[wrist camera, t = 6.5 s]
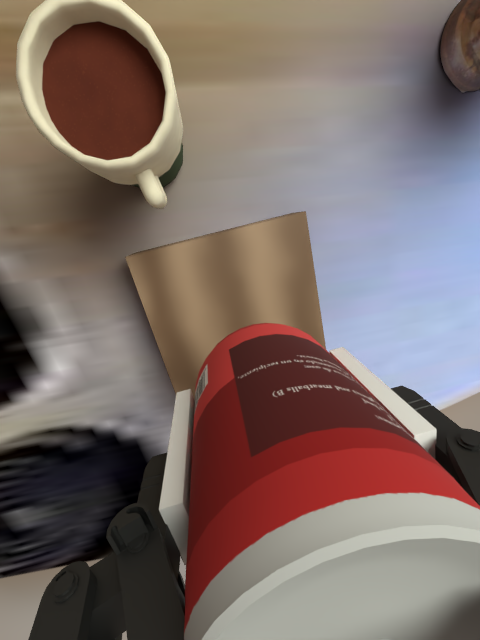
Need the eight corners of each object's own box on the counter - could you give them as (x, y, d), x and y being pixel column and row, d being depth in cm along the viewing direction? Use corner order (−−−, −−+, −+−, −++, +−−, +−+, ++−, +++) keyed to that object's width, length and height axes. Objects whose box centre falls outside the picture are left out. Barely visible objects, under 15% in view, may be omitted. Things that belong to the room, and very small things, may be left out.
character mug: (77, 98, 24) (-56, -36, 11) (157, 65, 24) (108, -105, 11) (140, 227, 27) (90, 230, 15) (209, 199, 27) (214, 178, 15)
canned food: (234, 461, 18) (279, 797, 7) (166, 359, 15) (86, 661, 5) (346, 406, 17) (559, 674, 7) (298, 292, 15) (525, 454, 4)
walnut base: (183, 388, 33) (181, 409, 30) (135, 252, 28) (125, 257, 24) (314, 352, 34) (328, 368, 30) (292, 213, 29) (305, 211, 25)
